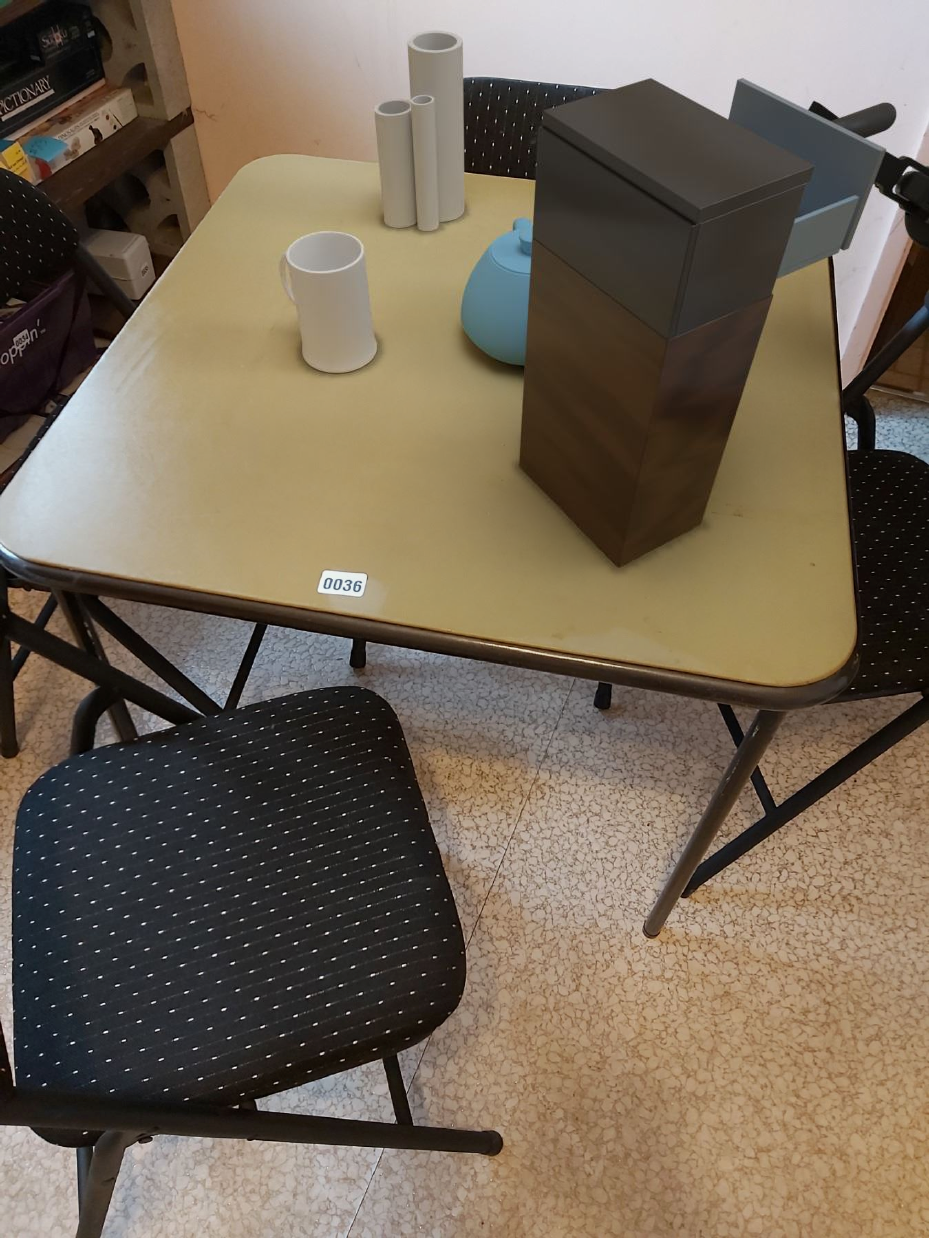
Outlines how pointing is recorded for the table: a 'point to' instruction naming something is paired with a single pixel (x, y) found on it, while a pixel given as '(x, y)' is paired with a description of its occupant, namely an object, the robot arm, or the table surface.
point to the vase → (424, 137)
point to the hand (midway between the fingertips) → (869, 150)
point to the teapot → (501, 296)
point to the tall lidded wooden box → (646, 305)
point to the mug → (331, 300)
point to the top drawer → (818, 166)
